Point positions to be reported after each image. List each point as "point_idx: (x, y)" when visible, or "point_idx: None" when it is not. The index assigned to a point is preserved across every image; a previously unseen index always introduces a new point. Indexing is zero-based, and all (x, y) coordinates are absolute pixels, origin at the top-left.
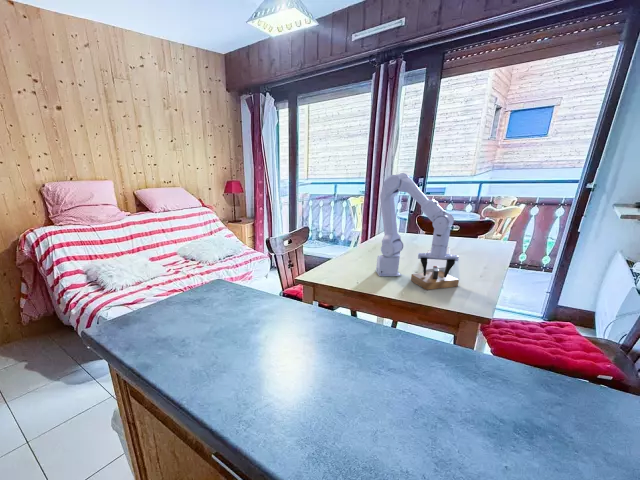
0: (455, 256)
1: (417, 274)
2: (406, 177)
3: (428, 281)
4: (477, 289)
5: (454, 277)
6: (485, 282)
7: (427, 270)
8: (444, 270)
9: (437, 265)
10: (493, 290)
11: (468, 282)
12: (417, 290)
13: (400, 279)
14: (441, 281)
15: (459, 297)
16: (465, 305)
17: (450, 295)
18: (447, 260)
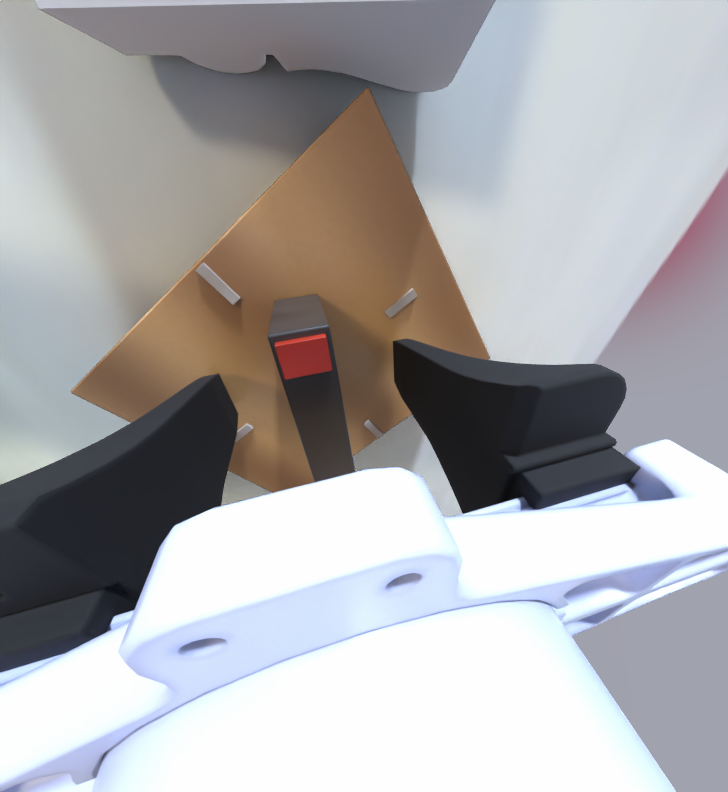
0: (676, 589)
1: (136, 379)
2: None
3: (291, 479)
4: (548, 338)
5: (471, 320)
6: (682, 149)
7: (134, 21)
8: (411, 40)
9: None
10: (620, 318)
11: (558, 206)
12: (250, 487)
13: (5, 369)
14: (371, 442)
15: (436, 466)
16: (441, 509)
17: (403, 466)
18: (501, 490)
